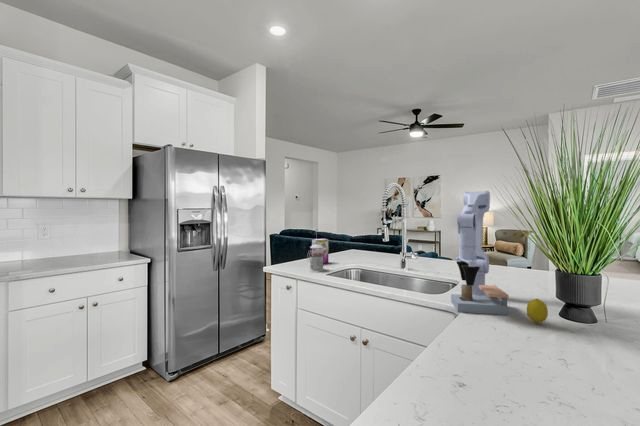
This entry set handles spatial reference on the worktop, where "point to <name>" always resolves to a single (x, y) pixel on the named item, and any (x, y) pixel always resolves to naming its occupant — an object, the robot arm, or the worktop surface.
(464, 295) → the peg
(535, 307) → the lemon
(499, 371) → the worktop surface
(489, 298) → the socket block
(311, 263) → the french press
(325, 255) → the candy bar box
